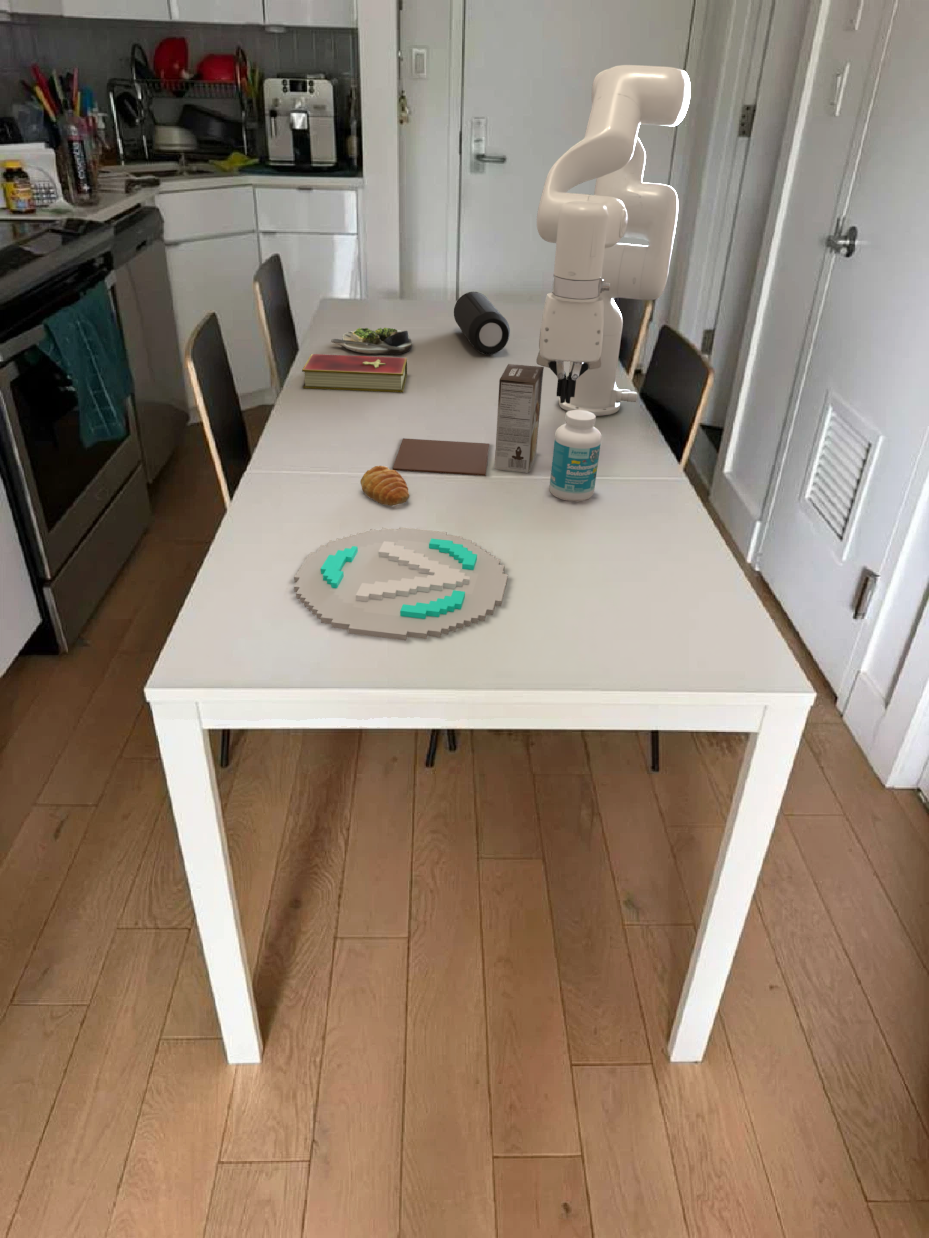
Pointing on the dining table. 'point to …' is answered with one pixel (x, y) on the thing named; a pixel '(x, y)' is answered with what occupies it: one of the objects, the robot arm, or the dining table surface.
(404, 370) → the hardcover book
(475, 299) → the portable speaker
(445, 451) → the mat
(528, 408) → the coffee box
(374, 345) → the salad plate
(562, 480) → the pill bottle
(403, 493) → the pastry
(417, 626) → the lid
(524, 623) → the dining table surface
